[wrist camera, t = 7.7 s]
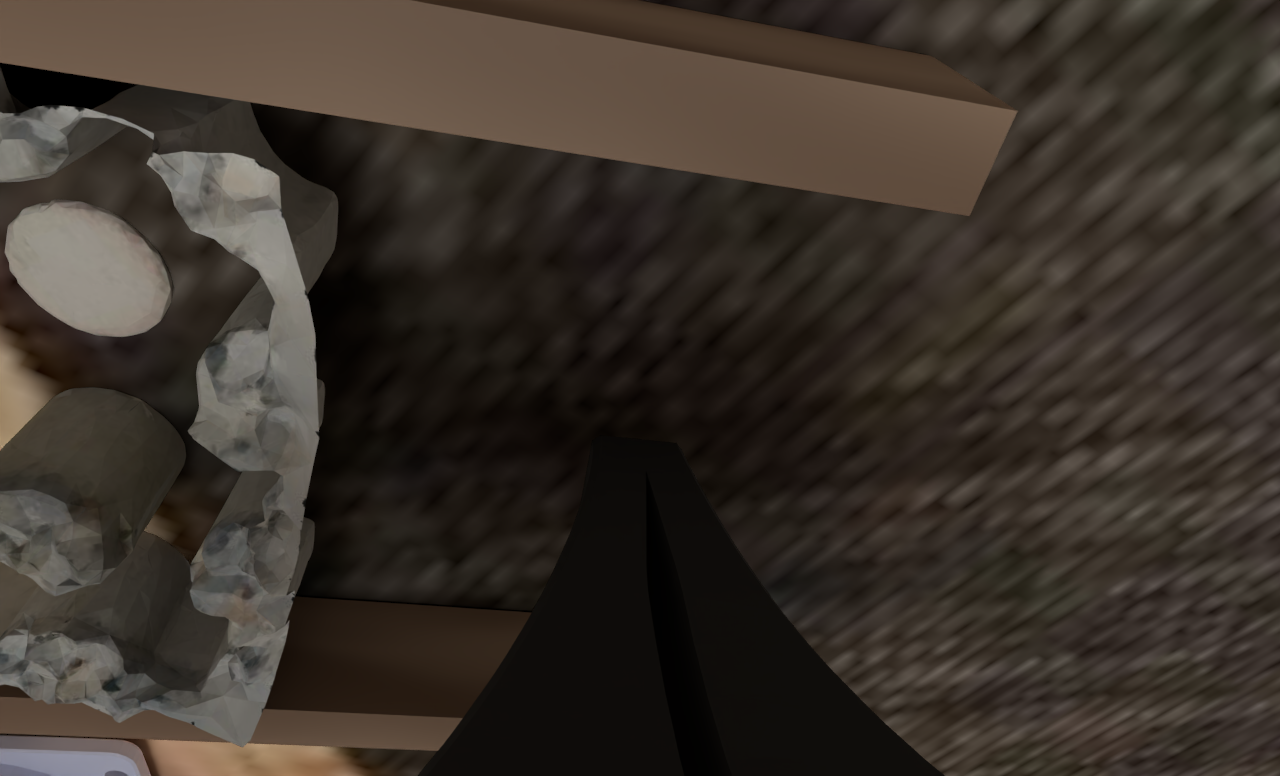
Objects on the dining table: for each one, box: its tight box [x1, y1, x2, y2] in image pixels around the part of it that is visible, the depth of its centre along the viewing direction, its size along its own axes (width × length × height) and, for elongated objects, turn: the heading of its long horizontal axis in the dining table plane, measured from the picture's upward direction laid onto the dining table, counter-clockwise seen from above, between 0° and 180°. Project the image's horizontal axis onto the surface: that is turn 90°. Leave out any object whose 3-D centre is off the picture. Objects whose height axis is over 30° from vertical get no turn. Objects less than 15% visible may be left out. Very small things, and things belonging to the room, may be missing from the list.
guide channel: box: [0, 0, 1017, 751], centre depth 11 cm, size 13×20×4 cm
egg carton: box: [0, 66, 338, 747], centre depth 11 cm, size 11×8×4 cm
